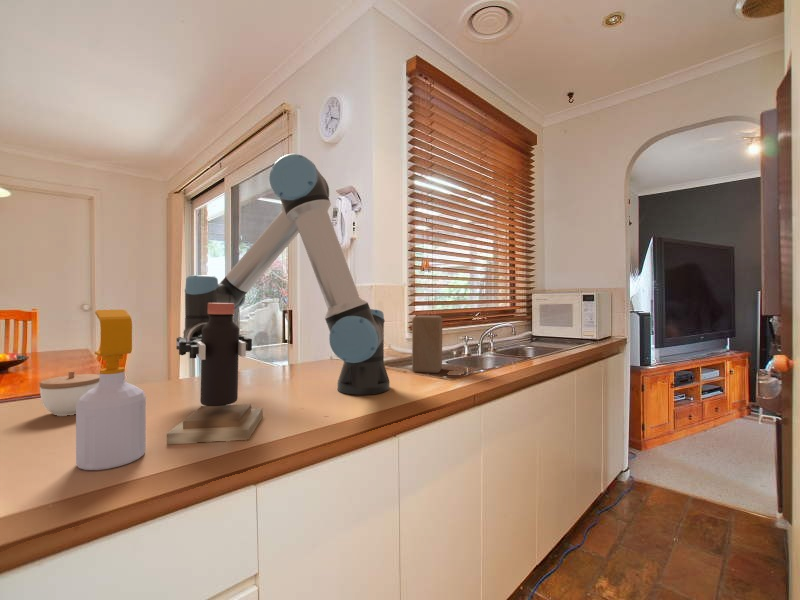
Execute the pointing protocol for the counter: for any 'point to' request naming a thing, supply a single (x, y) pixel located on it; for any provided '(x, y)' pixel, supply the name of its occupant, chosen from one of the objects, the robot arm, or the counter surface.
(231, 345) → the vinegar
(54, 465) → the counter surface
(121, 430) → the soap bottle
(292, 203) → the robot arm
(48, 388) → the lidded jar
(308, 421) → the counter surface
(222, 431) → the base
